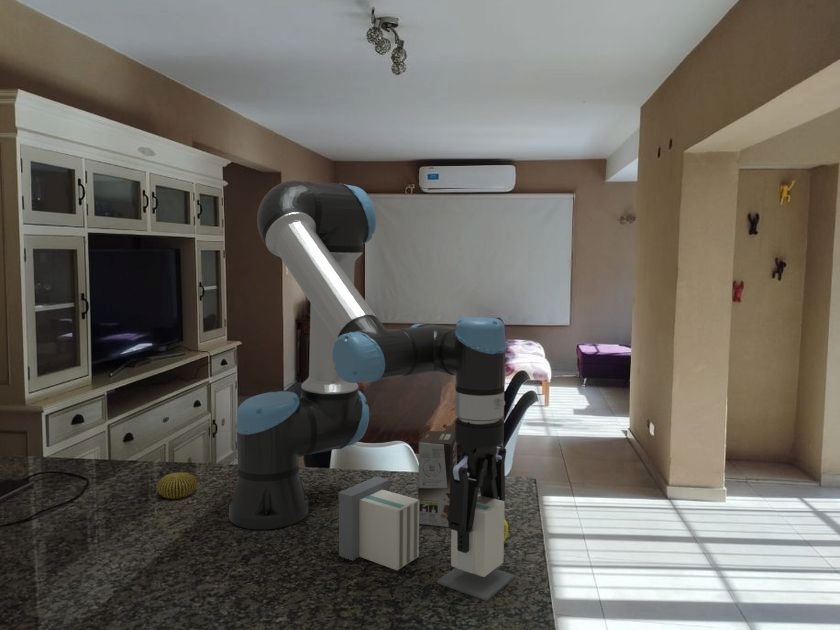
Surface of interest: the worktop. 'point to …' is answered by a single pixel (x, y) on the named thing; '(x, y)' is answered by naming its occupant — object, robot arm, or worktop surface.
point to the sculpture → (177, 485)
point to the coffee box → (435, 476)
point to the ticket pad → (378, 524)
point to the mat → (476, 582)
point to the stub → (485, 536)
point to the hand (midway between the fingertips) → (477, 561)
